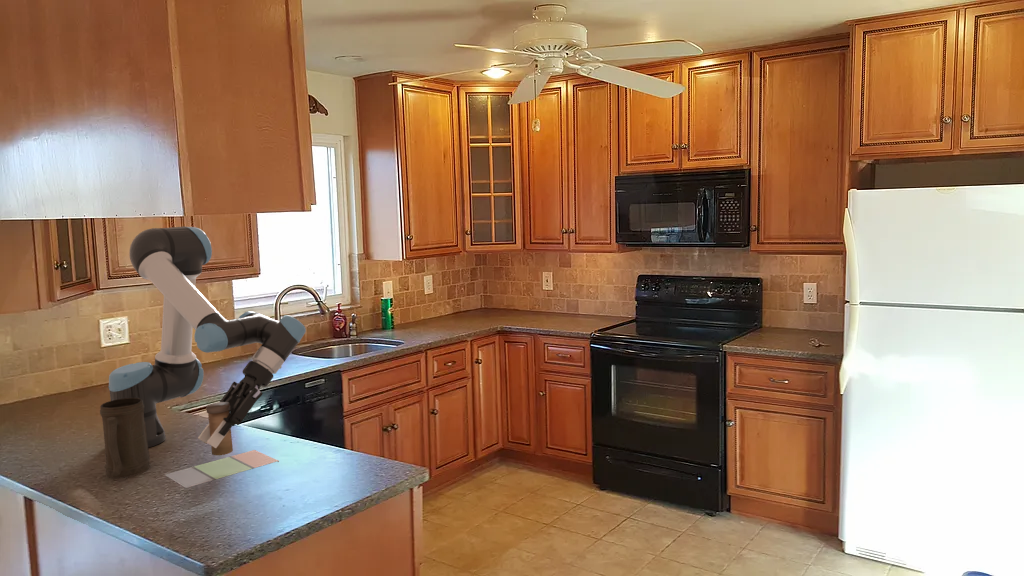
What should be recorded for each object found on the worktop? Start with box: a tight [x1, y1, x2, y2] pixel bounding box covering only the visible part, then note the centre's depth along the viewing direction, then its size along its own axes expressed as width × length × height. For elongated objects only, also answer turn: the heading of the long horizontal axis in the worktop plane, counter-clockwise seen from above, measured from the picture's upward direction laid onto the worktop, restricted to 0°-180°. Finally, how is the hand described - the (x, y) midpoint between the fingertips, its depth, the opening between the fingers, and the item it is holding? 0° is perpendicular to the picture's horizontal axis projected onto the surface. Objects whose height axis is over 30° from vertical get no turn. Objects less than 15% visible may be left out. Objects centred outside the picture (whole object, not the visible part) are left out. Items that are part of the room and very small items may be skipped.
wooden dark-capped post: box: [206, 401, 234, 456], centre depth 185 cm, size 6×6×12 cm
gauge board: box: [164, 449, 280, 489], centre depth 186 cm, size 14×24×1 cm, turn 135°
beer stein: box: [99, 398, 151, 479], centre depth 184 cm, size 15×11×20 cm
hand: (206, 443), depth 183 cm, fingers closed on wooden dark-capped post, 5 cm apart
